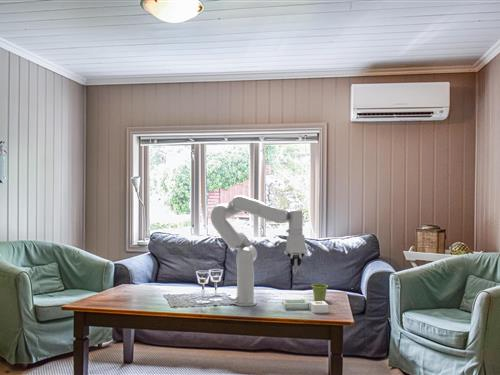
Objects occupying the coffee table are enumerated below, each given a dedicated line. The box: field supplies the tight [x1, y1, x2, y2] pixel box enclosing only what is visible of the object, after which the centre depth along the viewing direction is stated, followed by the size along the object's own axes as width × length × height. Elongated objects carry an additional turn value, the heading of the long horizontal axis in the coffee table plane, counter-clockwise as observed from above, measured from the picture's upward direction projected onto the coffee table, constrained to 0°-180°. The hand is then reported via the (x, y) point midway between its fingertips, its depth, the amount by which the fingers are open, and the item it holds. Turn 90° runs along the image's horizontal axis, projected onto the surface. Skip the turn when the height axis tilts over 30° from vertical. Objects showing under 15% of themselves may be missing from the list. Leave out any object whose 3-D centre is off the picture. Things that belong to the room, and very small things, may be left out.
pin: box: [292, 253, 299, 276], centre depth 223 cm, size 4×4×11 cm
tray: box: [281, 298, 310, 311], centre depth 223 cm, size 13×10×3 cm
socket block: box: [309, 300, 329, 314], centre depth 215 cm, size 8×8×4 cm
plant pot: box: [311, 283, 328, 302], centre depth 238 cm, size 9×9×9 cm
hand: (295, 265), depth 223 cm, fingers closed on pin, 3 cm apart
